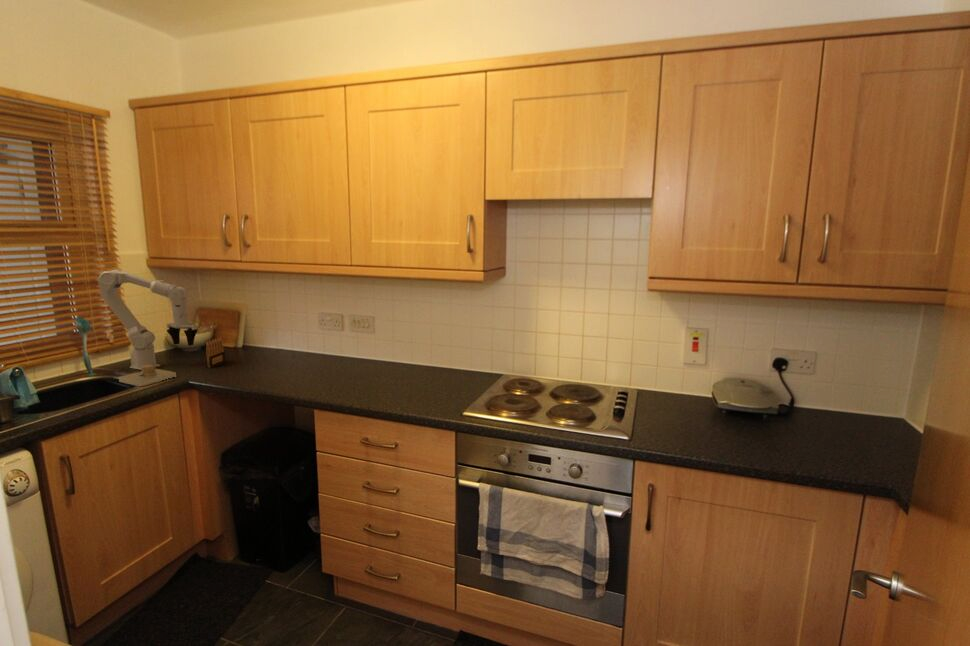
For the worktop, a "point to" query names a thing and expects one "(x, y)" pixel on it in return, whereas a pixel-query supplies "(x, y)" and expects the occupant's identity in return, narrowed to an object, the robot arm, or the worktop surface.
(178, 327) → the robot arm
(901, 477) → the worktop surface
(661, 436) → the worktop surface
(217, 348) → the ammunition clip
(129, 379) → the plate with square hole
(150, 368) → the wooden block
